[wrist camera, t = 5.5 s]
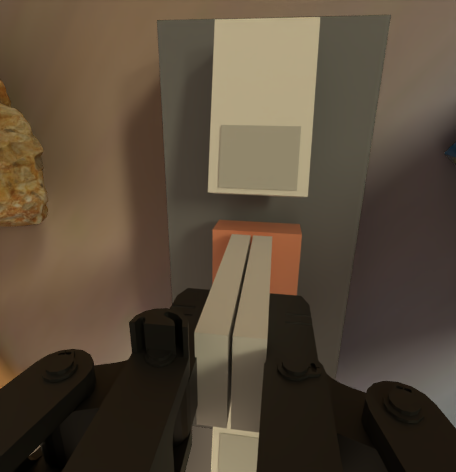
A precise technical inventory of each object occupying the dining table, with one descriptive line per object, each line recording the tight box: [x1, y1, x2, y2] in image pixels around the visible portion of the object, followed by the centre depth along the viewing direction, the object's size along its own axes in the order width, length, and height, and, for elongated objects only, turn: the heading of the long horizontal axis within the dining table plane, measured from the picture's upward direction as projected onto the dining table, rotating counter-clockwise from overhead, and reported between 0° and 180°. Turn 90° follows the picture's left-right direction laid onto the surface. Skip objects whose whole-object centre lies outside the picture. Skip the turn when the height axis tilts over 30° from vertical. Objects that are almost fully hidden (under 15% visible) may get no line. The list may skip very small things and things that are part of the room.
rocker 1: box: [208, 17, 320, 197], centre depth 13 cm, size 6×4×2 cm, turn 179°
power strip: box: [157, 15, 391, 429], centre depth 20 cm, size 27×9×6 cm, turn 179°
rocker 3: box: [211, 405, 259, 472], centre depth 18 cm, size 6×4×2 cm, turn 179°
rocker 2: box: [212, 220, 302, 295], centre depth 15 cm, size 6×4×2 cm, turn 179°
